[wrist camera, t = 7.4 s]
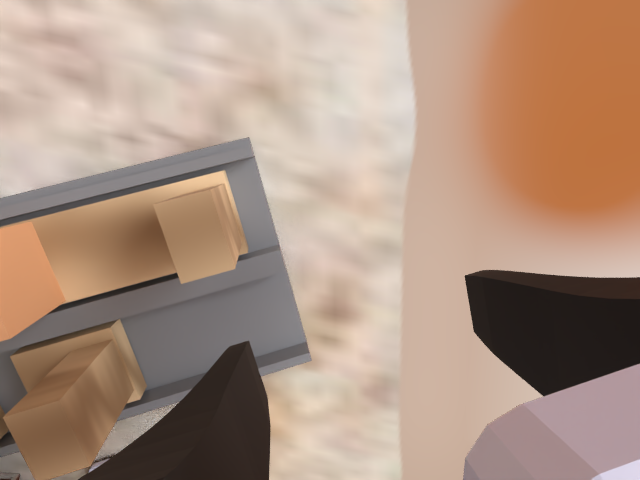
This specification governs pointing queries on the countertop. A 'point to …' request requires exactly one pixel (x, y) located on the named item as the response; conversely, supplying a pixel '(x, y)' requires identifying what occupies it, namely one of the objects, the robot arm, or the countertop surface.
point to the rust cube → (24, 280)
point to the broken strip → (71, 397)
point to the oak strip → (144, 237)
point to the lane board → (173, 287)
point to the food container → (9, 476)
